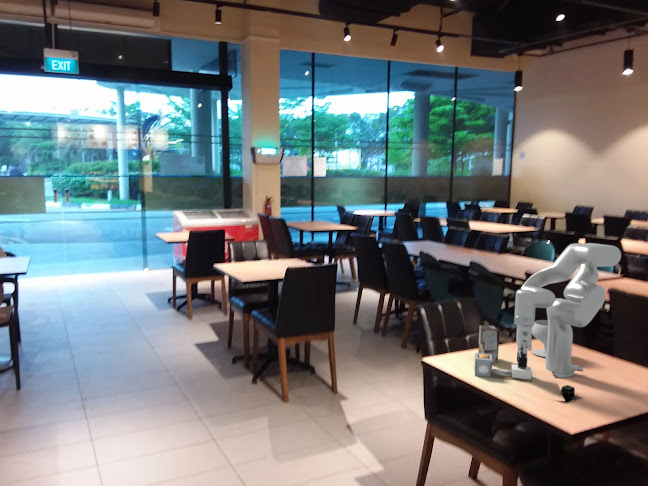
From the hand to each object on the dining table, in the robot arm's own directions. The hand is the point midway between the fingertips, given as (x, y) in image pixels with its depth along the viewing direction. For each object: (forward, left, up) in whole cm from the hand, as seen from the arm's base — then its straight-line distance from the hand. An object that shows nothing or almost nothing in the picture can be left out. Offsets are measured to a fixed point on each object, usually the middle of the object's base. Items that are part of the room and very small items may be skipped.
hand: (521, 364), depth 209 cm
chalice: (-15, -38, -7) cm, 41 cm away
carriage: (0, 0, -5) cm, 5 cm away
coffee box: (+12, -18, -7) cm, 23 cm away
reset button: (+15, 0, -1) cm, 15 cm away
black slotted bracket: (-15, +13, -8) cm, 21 cm away
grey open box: (+15, 0, -5) cm, 16 cm away
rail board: (+7, 0, -7) cm, 10 cm away
